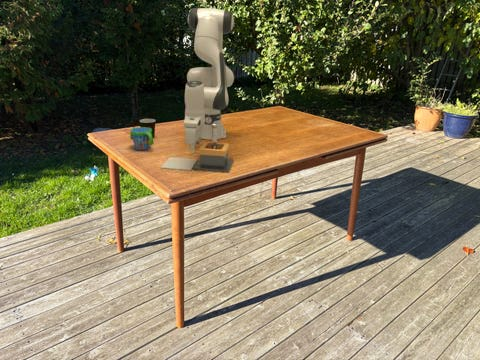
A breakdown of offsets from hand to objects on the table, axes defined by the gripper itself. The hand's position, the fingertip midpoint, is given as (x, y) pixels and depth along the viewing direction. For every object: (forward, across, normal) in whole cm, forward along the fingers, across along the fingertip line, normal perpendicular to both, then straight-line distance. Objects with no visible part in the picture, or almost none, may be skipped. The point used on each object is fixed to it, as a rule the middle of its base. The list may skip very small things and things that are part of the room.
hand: (195, 148), depth 172 cm
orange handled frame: (+1, 0, +6) cm, 6 cm away
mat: (+8, +2, -7) cm, 11 cm away
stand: (+8, 0, +9) cm, 12 cm away
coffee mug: (+8, -35, -37) cm, 52 cm away
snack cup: (+8, -16, -32) cm, 37 cm away
